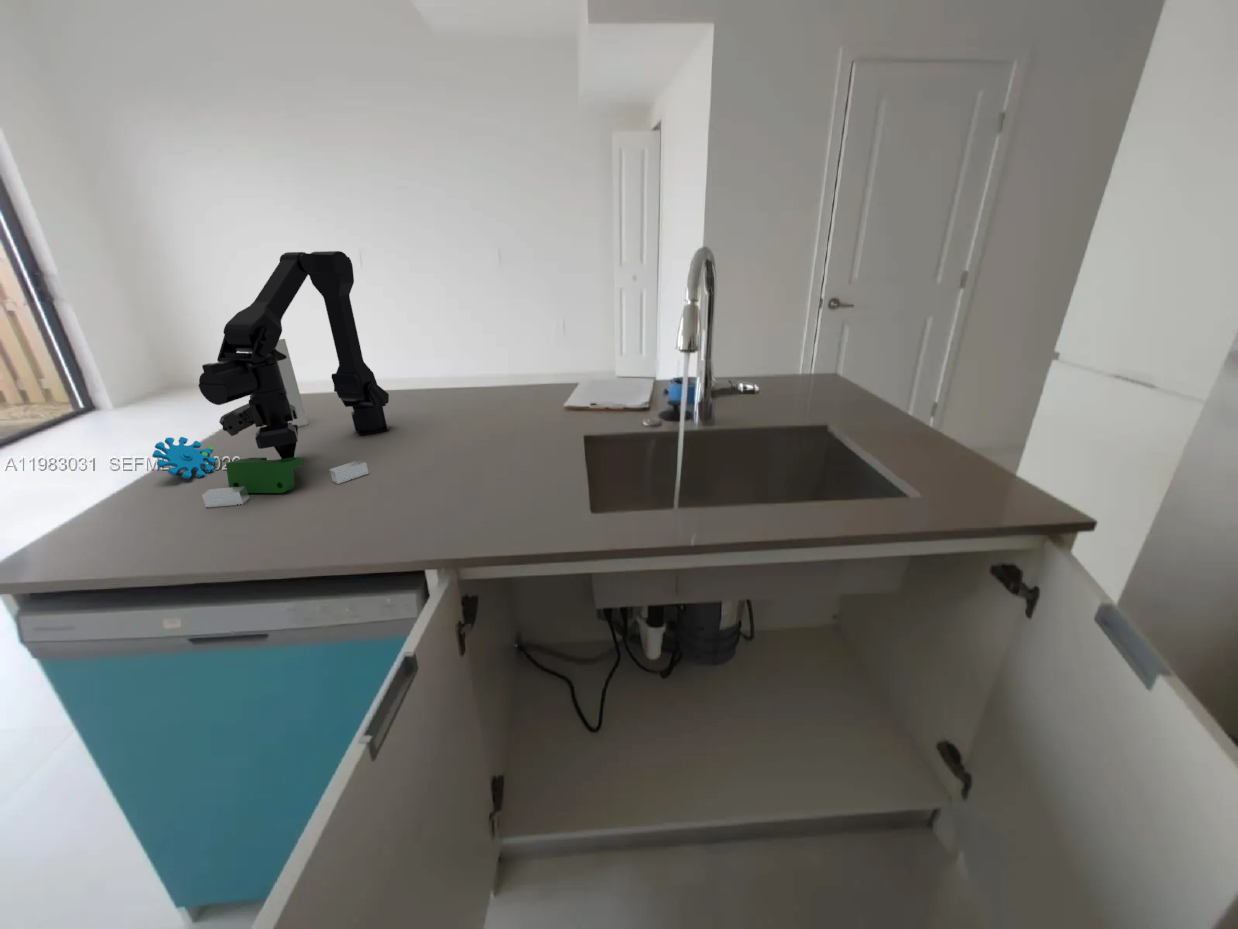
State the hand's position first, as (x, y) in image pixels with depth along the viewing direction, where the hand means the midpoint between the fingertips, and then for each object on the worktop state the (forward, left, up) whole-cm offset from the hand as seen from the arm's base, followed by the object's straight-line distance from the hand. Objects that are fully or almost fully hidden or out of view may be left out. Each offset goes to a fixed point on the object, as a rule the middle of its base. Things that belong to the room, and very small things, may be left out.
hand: (289, 465), depth 108 cm
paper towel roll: (+1, -32, -2) cm, 32 cm away
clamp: (+3, +5, -2) cm, 6 cm away
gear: (+17, -11, -2) cm, 21 cm away
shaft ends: (0, +9, -2) cm, 9 cm away
